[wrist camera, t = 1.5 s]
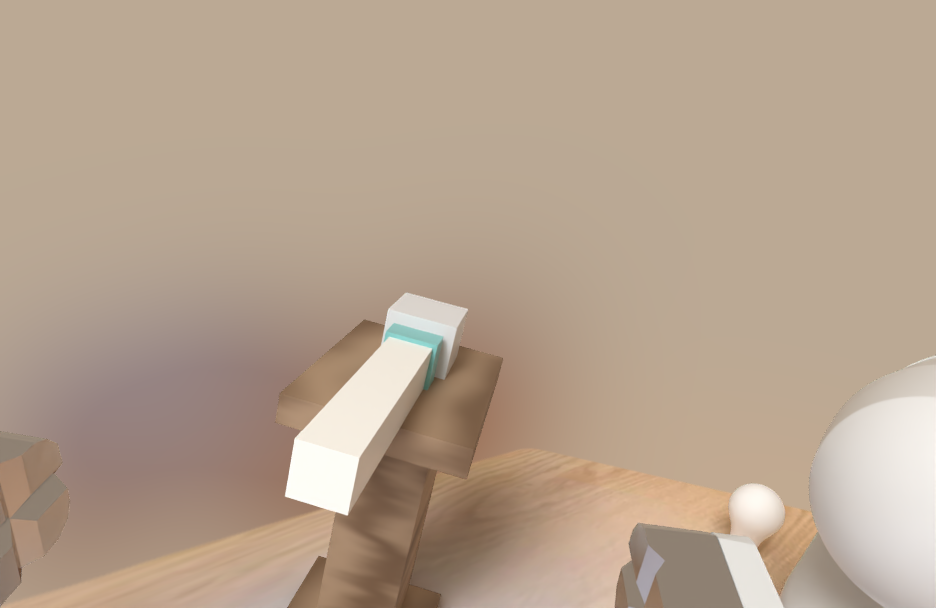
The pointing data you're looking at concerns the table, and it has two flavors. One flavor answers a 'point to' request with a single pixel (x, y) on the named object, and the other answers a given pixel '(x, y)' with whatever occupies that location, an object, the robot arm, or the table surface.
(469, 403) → the wooden i-beam block
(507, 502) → the table surface
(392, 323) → the bar
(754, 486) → the lightbulb
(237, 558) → the table surface
